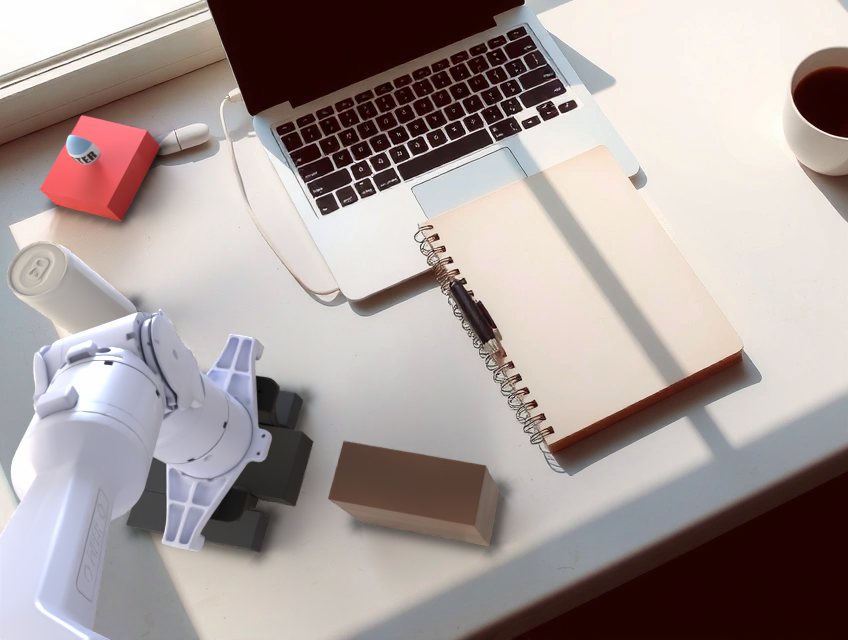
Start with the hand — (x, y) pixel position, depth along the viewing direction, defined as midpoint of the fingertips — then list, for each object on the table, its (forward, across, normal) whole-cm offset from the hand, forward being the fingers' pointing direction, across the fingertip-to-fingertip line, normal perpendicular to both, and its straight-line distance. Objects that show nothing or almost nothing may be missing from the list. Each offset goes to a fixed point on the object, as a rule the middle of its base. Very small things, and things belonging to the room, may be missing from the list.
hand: (255, 465), depth 71 cm
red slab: (+2, +24, +22) cm, 33 cm away
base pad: (+2, 0, +3) cm, 4 cm away
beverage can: (+2, +10, +16) cm, 19 cm away
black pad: (0, 0, 0) cm, 0 cm away
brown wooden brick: (+2, 0, -14) cm, 14 cm away
